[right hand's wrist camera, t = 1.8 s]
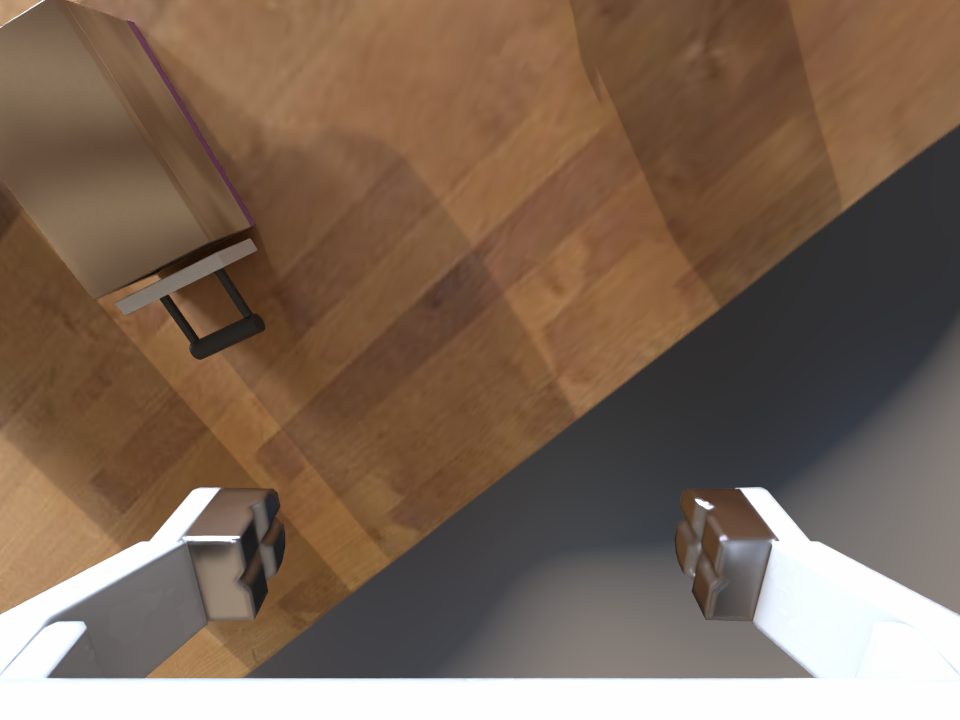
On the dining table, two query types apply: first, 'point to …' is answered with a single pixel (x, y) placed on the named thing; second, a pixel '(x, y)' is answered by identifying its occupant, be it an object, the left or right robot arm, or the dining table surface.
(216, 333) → the drawer
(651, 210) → the dining table surface
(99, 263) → the cabinet
